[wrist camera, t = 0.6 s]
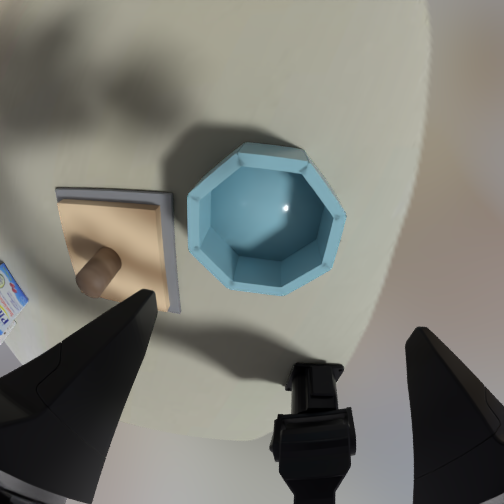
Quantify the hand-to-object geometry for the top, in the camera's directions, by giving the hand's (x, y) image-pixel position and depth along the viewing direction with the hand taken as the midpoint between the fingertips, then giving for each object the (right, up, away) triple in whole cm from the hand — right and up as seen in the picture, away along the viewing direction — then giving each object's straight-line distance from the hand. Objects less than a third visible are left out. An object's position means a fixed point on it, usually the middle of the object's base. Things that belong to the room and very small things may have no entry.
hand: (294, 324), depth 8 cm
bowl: (0, +6, +13) cm, 14 cm away
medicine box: (-40, -3, +23) cm, 46 cm away
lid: (-15, +2, +16) cm, 22 cm away
